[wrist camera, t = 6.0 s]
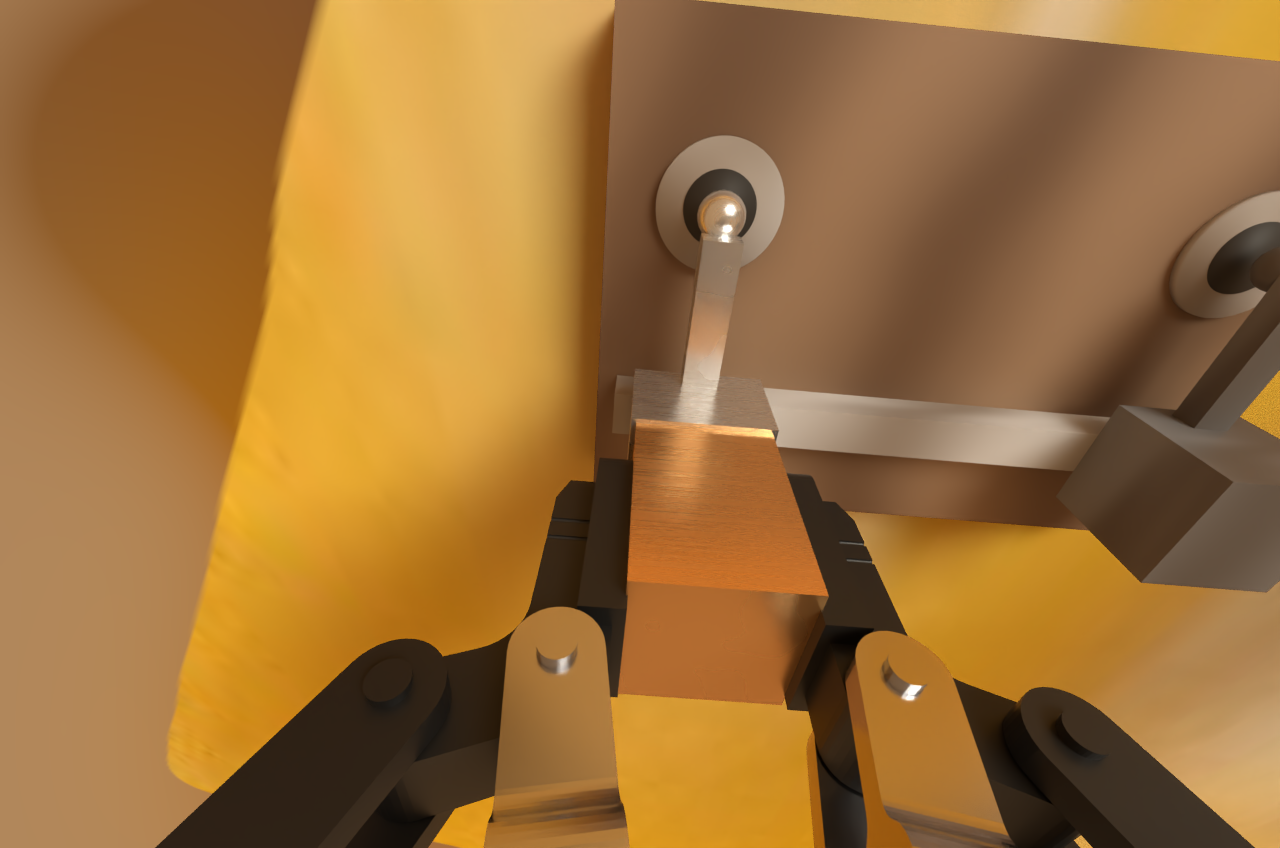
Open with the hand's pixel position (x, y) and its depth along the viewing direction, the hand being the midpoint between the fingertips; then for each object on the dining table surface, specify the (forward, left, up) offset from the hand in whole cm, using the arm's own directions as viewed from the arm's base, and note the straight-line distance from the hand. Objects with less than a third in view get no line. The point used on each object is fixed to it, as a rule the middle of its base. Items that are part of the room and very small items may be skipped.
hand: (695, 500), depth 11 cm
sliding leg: (0, -2, -4) cm, 4 cm away
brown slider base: (-6, -2, -6) cm, 9 cm away
